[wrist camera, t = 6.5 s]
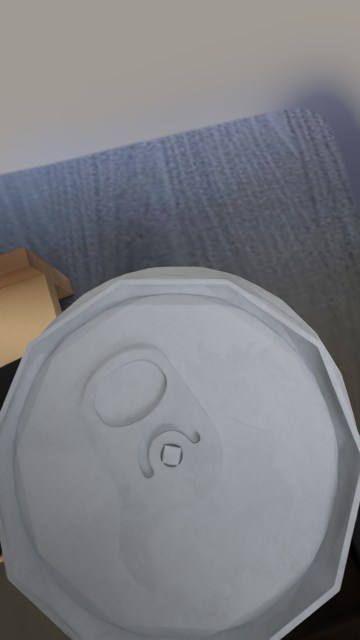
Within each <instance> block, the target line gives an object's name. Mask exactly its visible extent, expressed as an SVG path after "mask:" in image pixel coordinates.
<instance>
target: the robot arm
mask: <svg viewBox="0 0 360 640" xmlns="http://www.w3.org/2000/svg"><path fill="white" fill-rule="evenodd" d="M21 359H22V357H21V358H19V359H17V360H14V361H12V362H10V363H8V364H6V365H4V366H2V367H0V411H1V409H2V406H3V404H4V401H5V399H6V396H7V394H8V391H9V389H10V386H11V384H12V382H13V379H14V377H15V374H16V372H17V369H18V367H19V364H20V362H21ZM1 555H2V547H1V542H0V557H1ZM280 640H360V502H359V507H358V511H357V516H356V520H355V525H354V529H353V534H352V538H351V543H350V547H349V552H348V556H347V561H346V565H345V569H344V574H343V578H342V583H341V587H340V591H339V592H338V593H336V594H335V595H334V596H333V597H331V598H330V599H329V600H328V601H327V602H325V603H324V604H323V605H322V606H320V607H319V608H318V609H317V610H316V611H314V612H313V613H312V614H311V615H309V616H308V617H307V618H306V619H305V620H303V621H302V622H301V623H300V624H298V625H297V626H296V627H295V628H294V629H292V630H291V631H290V632H289V633H287V634H286V635H285V636H284V637H283V638H281V639H280Z"/></svg>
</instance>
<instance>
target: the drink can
mask: <svg viewBox="0 0 360 640" xmlns="http://www.w3.org/2000/svg"><path fill="white" fill-rule="evenodd" d="M359 502H360V436H359V434H358V431H357V427H356V423H355V419H354V415H353V412H352V408H351V405H350V401H349V398H348V395H347V391H346V388H345V385H344V381H343V378H342V375H341V372H340V371H339V369H338V368H337V366H336V364H335V363H334V361H333V359H332V358H331V356H330V355H329V353H328V351H327V350H326V348H325V346H324V345H323V343H322V342H321V340H320V338H319V337H318V335H317V333H316V332H315V331H314V330H313V329H312V328H311V327H310V326H309V325H307V324H306V323H305V322H304V321H303V320H302V319H301V318H300V317H299V316H298V315H297V314H296V313H295V312H294V311H293V310H292V309H291V308H290V307H289V306H288V305H287V304H286V303H285V302H284V301H282V300H281V299H280V298H278V297H276V296H274V295H273V294H271V293H269V292H268V291H266V290H264V289H262V288H261V287H259V286H257V285H255V284H253V283H251V282H249V281H247V280H245V279H243V278H241V277H238V276H235V275H232V274H229V273H226V272H221V271H217V270H212V269H208V268H204V267H157V268H149V269H144V270H140V271H136V272H132V273H128V274H125V275H122V276H119V277H117V278H114V279H111V280H109V281H107V282H105V283H103V284H102V285H100V286H98V287H96V288H94V289H92V290H91V291H89V292H87V293H85V294H83V295H82V296H81V297H80V298H79V299H78V300H76V301H75V302H74V303H73V304H72V305H71V306H69V307H68V308H67V309H66V310H65V311H64V312H62V313H61V314H60V315H59V316H58V317H57V318H55V319H54V320H53V321H52V322H51V323H50V324H49V325H48V326H47V328H46V329H45V330H44V331H43V332H42V333H41V334H40V335H39V336H37V337H36V338H34V339H33V340H32V341H30V342H29V343H28V344H27V347H26V349H25V352H24V354H23V357H22V359H21V362H20V364H19V367H18V369H17V372H16V374H15V377H14V379H13V382H12V384H11V386H10V389H9V391H8V394H7V396H6V399H5V401H4V404H3V406H2V409H1V411H0V542H1V547H2V552H3V558H4V563H5V568H6V573H7V578H8V580H9V581H10V582H11V583H12V584H13V585H14V586H15V587H17V588H18V589H19V590H20V591H21V592H22V593H23V594H24V595H25V596H26V597H27V598H28V599H29V600H30V601H31V602H32V603H34V604H35V605H36V606H37V607H38V608H39V609H40V610H41V611H42V612H43V613H44V614H45V615H46V616H47V617H48V618H49V619H50V620H52V621H53V622H54V623H55V624H56V625H57V626H58V627H59V628H60V629H61V630H62V631H63V632H64V633H65V634H66V635H67V636H69V637H70V638H71V639H72V640H280V639H281V638H283V637H284V636H285V635H286V634H287V633H289V632H290V631H291V630H292V629H294V628H295V627H296V626H297V625H298V624H300V623H301V622H302V621H303V620H305V619H306V618H307V617H308V616H309V615H311V614H312V613H313V612H314V611H316V610H317V609H318V608H319V607H320V606H322V605H323V604H324V603H325V602H327V601H328V600H329V599H330V598H331V597H333V596H334V595H335V594H336V593H338V592H339V591H340V587H341V583H342V578H343V574H344V569H345V565H346V561H347V556H348V552H349V547H350V543H351V538H352V534H353V529H354V525H355V520H356V516H357V511H358V507H359Z"/></svg>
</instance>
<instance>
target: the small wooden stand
mask: <svg viewBox="0 0 360 640" xmlns="http://www.w3.org/2000/svg"><path fill="white" fill-rule="evenodd" d="M73 294H74V292H73V289H72V286H71V282H70V279H69V278H68V277H67V276H65V275H64V274H62V273H61V272H59V271H58V270H57V269H55V268H54V267H52V266H51V265H49V264H48V263H46V262H45V261H44V260H42V259H41V258H39V257H38V256H36V255H35V254H34V253H32V252H31V251H29V250H28V249H26V248H25V247H23V248H20V249H17V250H14V251H11V252H8V253H5V254H2V255H0V367H2V366H4V365H6V364H8V363H10V362H12V361H14V360H17V359H19V358H21V357H23V354H24V352H25V349H26V347H27V344H28V343H29V342H30V341H32V340H33V339H34V338H36V337H37V336H39V335H40V334H41V333H42V332H43V331H44V330H45V329H46V328H47V326H48V325H49V324H50V323H51V322H52V321H53V320H54V319H55V318H57V317H58V316H59V315H60V314H61V313H62V310H61V307H60V304H59V299H62V298H65V297H67V296H70V295H73ZM2 561H4V558H3V552H2V555H1V557H0V562H2Z"/></svg>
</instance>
